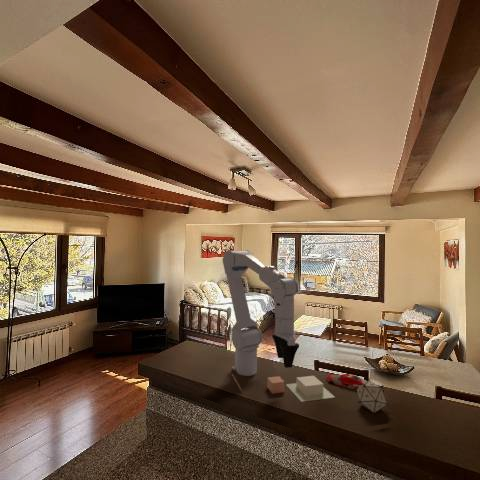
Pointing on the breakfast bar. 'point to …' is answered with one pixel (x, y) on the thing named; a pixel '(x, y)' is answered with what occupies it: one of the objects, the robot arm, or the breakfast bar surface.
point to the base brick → (309, 385)
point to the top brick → (275, 384)
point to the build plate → (303, 398)
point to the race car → (346, 380)
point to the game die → (371, 396)
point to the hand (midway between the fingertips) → (284, 362)
